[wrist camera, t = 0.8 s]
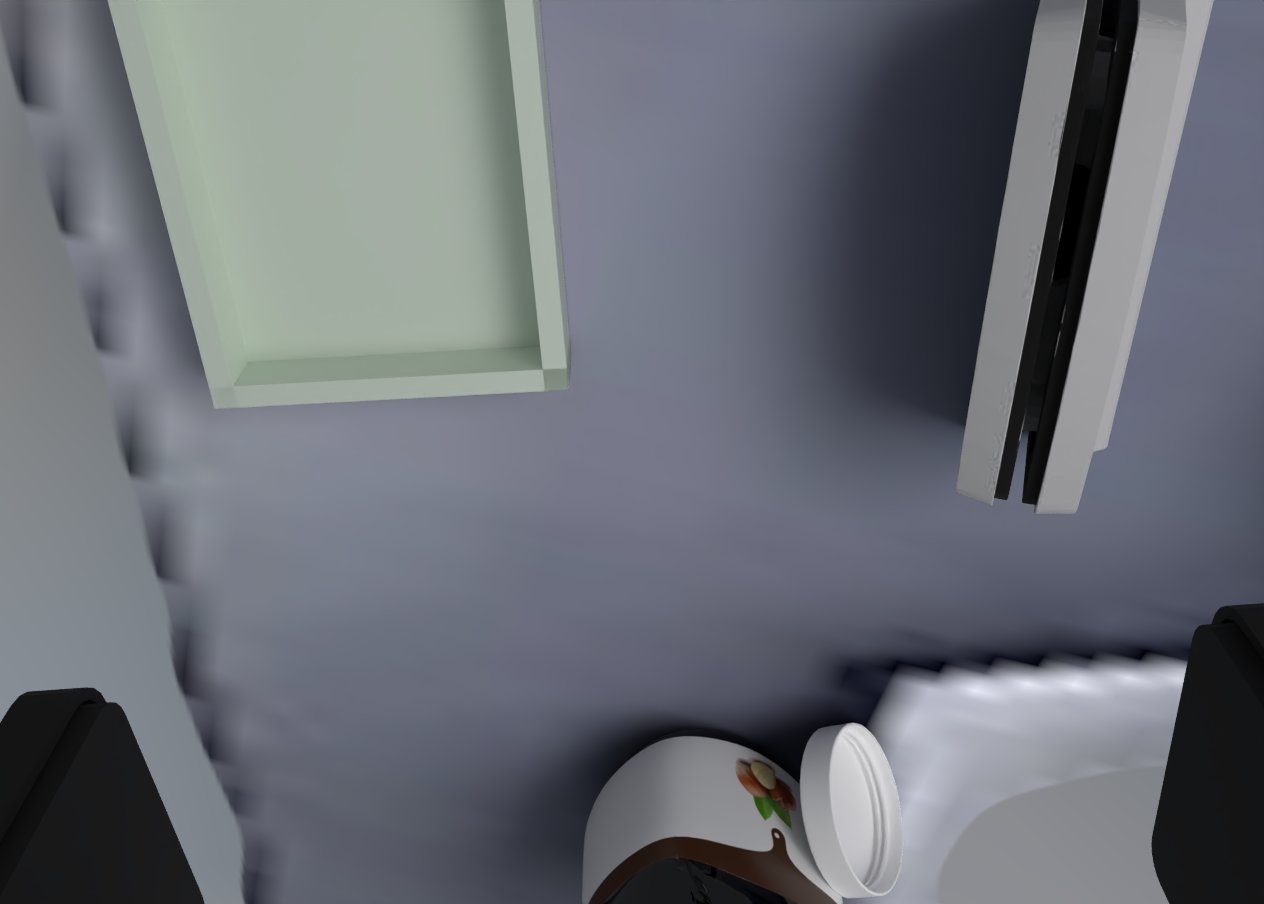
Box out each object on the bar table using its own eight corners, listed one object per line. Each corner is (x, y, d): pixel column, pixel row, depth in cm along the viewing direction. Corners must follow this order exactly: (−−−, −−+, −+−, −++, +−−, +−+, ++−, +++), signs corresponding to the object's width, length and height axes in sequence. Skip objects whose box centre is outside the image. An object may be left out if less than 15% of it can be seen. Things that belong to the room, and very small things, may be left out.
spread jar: (561, 795, 52) (547, 1038, 42) (709, 627, 48) (733, 854, 38) (775, 896, 56) (809, 1143, 46) (933, 748, 51) (1010, 986, 41)
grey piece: (1104, 435, 43) (1104, 587, 35) (973, 414, 45) (942, 556, 36) (1220, -54, 35) (1255, -6, 27) (1055, -62, 36) (1040, -18, 28)
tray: (121, -84, 34) (88, -75, 32) (529, -110, 34) (523, -102, 32) (236, 376, 42) (214, 408, 40) (571, 358, 42) (568, 389, 39)
